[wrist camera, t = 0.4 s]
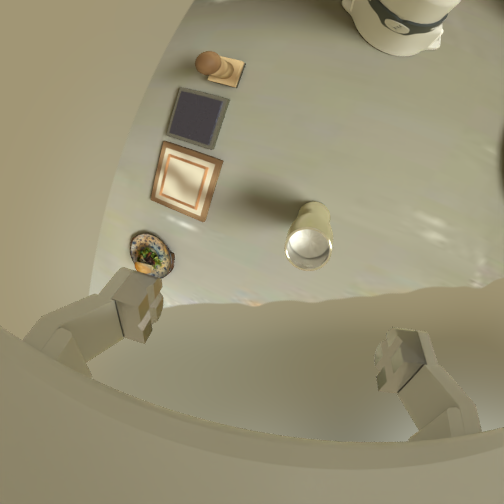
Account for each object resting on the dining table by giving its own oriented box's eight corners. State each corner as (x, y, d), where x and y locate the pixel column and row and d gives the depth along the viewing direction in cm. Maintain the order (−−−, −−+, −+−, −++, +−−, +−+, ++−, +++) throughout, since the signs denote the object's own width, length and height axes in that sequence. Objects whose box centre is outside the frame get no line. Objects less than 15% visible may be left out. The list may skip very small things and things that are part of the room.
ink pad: (183, 87, 48) (179, 86, 46) (230, 99, 47) (226, 98, 45) (170, 134, 52) (165, 135, 51) (213, 149, 52) (210, 149, 50)
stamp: (221, 58, 44) (193, 43, 33) (245, 63, 43) (223, 48, 33) (212, 81, 46) (183, 72, 36) (237, 88, 46) (212, 78, 35)
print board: (166, 141, 53) (162, 141, 52) (223, 160, 52) (221, 161, 51) (153, 198, 59) (149, 200, 58) (205, 220, 58) (202, 222, 57)
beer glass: (287, 216, 53) (272, 248, 40) (313, 191, 50) (307, 215, 37) (314, 242, 54) (307, 281, 41) (340, 217, 51) (343, 251, 38)
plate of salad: (182, 249, 63) (166, 264, 56) (165, 284, 69) (149, 301, 62) (141, 220, 63) (122, 232, 56) (128, 257, 68) (110, 270, 62)
